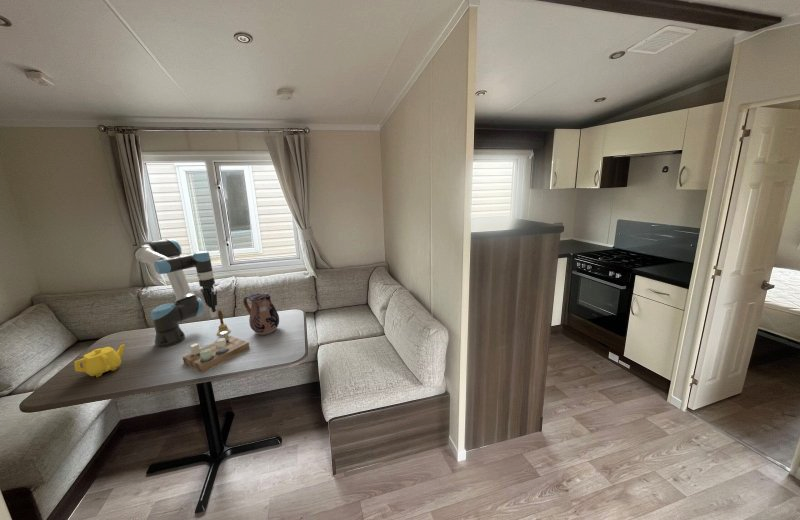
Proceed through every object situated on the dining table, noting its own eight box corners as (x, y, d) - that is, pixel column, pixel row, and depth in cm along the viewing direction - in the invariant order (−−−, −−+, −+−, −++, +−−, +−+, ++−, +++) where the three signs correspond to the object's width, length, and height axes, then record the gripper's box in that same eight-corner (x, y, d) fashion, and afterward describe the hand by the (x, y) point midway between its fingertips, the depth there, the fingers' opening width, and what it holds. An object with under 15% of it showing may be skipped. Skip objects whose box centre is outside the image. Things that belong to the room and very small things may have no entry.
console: (183, 363, 161) (182, 356, 160) (230, 341, 183) (229, 335, 182) (202, 372, 152) (201, 365, 151) (249, 348, 173) (248, 342, 172)
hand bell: (233, 331, 197) (229, 308, 193) (222, 336, 190) (217, 313, 186) (225, 329, 200) (221, 307, 197) (213, 334, 193) (208, 311, 189)
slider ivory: (191, 354, 162) (189, 345, 161) (197, 351, 164) (195, 343, 163) (194, 355, 160) (192, 347, 159) (200, 352, 163) (198, 344, 162)
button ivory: (214, 348, 162) (212, 341, 161) (223, 343, 166) (222, 337, 165) (219, 350, 160) (217, 343, 159) (228, 345, 164) (227, 339, 163)
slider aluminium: (221, 340, 175) (219, 333, 174) (226, 338, 178) (224, 330, 176) (224, 341, 174) (222, 334, 173) (229, 339, 176) (227, 331, 175)
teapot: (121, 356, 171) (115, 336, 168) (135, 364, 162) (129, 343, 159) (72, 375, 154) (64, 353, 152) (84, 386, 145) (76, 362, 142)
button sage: (199, 359, 156) (197, 352, 155) (209, 354, 160) (207, 348, 159) (204, 361, 153) (203, 354, 153) (214, 356, 158) (213, 350, 157)
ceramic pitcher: (274, 337, 185) (268, 300, 179) (240, 339, 186) (233, 301, 180) (284, 325, 202) (279, 290, 196) (254, 326, 203) (248, 291, 197)
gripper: (193, 279, 170) (201, 317, 176) (205, 281, 164) (213, 321, 169) (206, 275, 177) (214, 312, 182) (219, 277, 170) (226, 316, 176)
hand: (214, 316), depth 176 cm, fingers closed
